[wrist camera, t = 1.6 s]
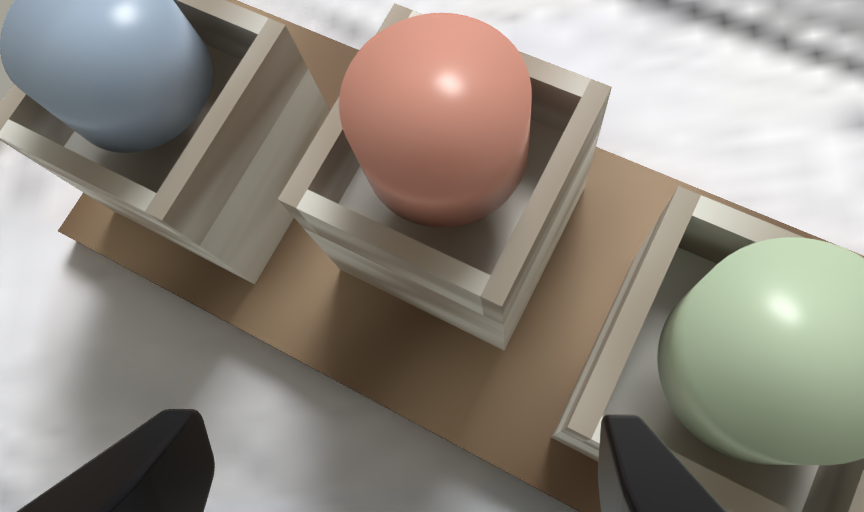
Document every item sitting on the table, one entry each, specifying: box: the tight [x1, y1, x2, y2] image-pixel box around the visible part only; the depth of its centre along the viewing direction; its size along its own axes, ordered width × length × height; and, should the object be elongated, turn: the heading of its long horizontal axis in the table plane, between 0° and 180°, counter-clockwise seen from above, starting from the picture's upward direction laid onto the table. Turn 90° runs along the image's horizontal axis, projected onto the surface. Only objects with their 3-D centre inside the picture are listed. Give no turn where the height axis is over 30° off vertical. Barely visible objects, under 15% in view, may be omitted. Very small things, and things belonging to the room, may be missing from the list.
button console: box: [0, 0, 864, 512], centre depth 19 cm, size 24×10×7 cm, turn 62°
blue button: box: [0, 0, 213, 153], centre depth 16 cm, size 4×4×2 cm
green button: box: [657, 237, 864, 465], centre depth 13 cm, size 4×4×2 cm
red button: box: [339, 13, 532, 227], centre depth 15 cm, size 4×4×2 cm
